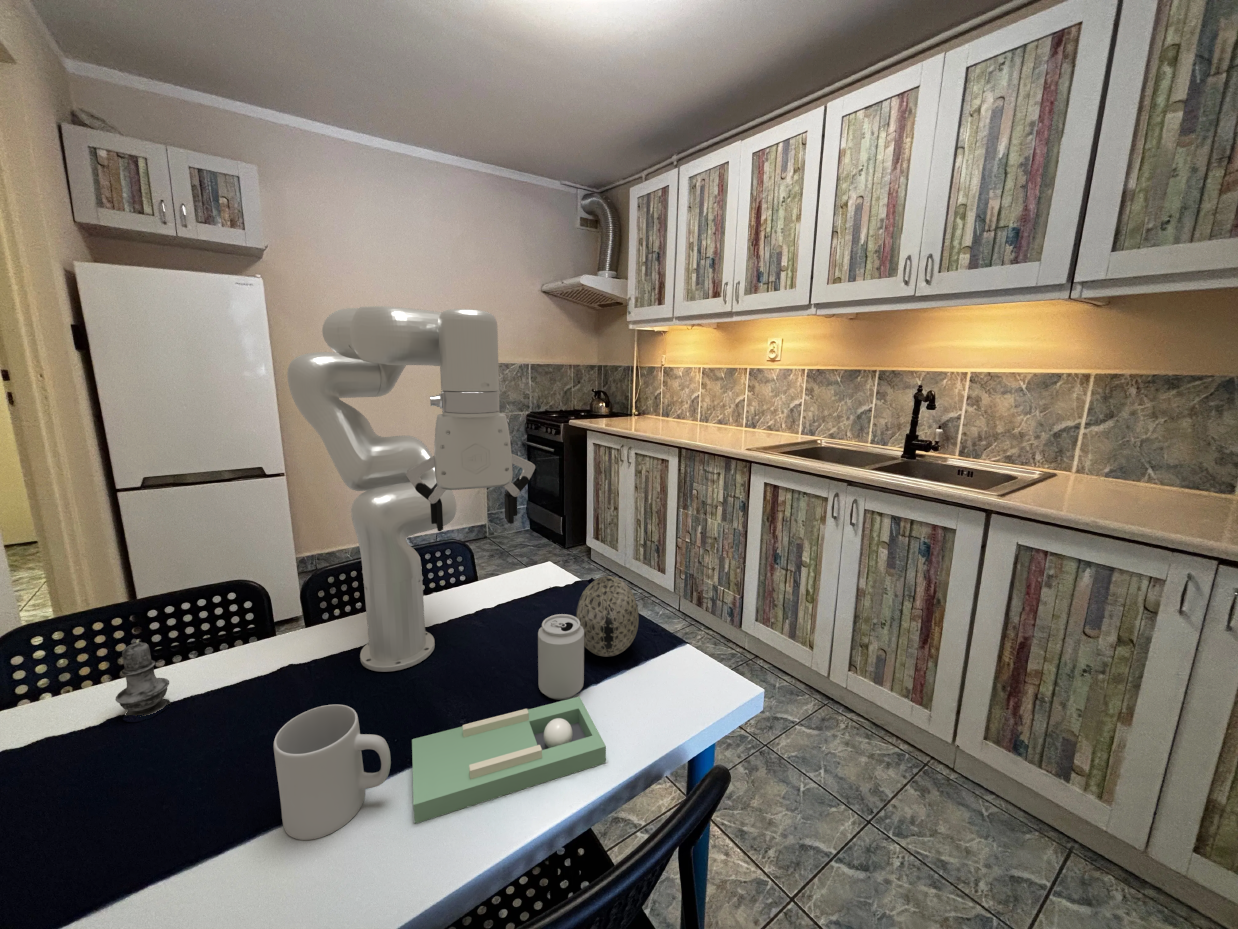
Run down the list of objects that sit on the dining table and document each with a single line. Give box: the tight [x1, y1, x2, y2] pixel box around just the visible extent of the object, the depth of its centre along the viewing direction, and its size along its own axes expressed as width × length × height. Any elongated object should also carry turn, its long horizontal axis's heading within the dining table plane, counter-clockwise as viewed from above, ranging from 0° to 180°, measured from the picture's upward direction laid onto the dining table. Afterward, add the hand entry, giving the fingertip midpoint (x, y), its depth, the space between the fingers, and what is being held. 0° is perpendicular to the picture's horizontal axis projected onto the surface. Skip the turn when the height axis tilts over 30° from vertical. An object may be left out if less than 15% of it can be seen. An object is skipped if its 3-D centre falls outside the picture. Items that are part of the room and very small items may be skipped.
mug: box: [273, 704, 392, 841], centre depth 58 cm, size 12×8×11 cm
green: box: [411, 696, 607, 825], centre depth 66 cm, size 11×24×4 cm, turn 113°
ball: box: [544, 718, 572, 748], centre depth 69 cm, size 4×4×4 cm
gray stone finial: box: [115, 638, 171, 717], centre depth 73 cm, size 6×6×12 cm
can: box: [537, 613, 585, 701], centre depth 81 cm, size 8×8×12 cm
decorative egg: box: [575, 575, 640, 658], centre depth 91 cm, size 12×12×15 cm
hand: (475, 524), depth 70 cm, fingers open, 9 cm apart
